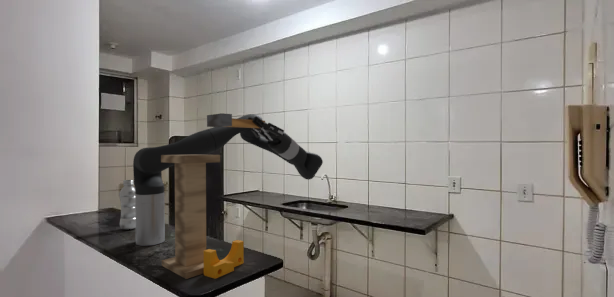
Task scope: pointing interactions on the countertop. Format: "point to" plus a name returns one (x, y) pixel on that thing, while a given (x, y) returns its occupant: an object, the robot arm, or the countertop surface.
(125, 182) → the plastic bottle
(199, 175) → the stand
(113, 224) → the countertop surface
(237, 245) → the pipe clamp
